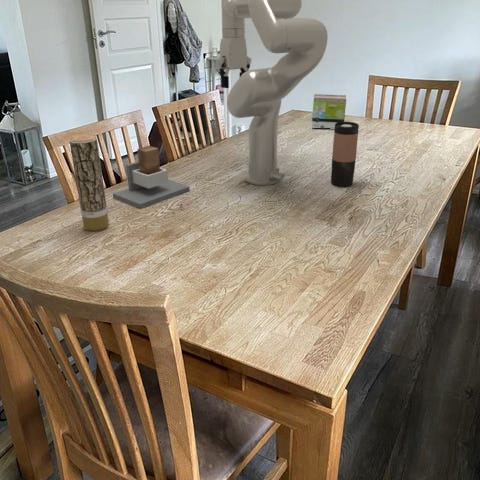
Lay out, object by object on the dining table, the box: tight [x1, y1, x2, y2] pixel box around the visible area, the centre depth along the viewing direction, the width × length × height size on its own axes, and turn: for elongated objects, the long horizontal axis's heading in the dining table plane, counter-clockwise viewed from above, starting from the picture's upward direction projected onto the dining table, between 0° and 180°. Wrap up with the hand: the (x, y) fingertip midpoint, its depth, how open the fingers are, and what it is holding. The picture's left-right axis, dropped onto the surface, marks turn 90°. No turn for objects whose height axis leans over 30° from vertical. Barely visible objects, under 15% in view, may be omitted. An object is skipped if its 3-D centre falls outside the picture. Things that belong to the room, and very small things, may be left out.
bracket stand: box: [112, 160, 191, 210], centre depth 157 cm, size 14×20×10 cm
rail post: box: [137, 145, 161, 175], centre depth 154 cm, size 4×4×10 cm
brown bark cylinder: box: [68, 133, 110, 232], centre depth 131 cm, size 7×7×25 cm
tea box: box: [311, 93, 347, 130], centre depth 233 cm, size 15×10×15 cm
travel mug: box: [330, 121, 360, 188], centre depth 161 cm, size 8×8×20 cm
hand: (234, 85), depth 175 cm, fingers open, 9 cm apart
